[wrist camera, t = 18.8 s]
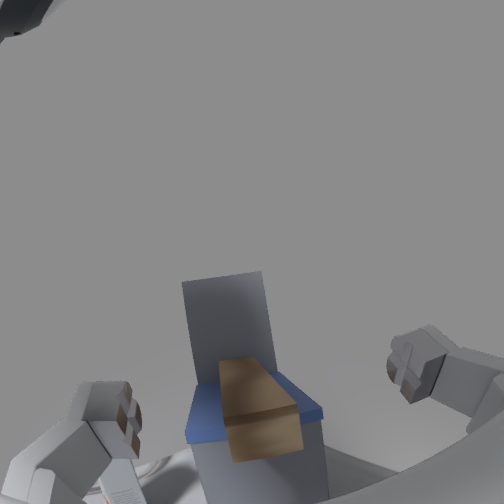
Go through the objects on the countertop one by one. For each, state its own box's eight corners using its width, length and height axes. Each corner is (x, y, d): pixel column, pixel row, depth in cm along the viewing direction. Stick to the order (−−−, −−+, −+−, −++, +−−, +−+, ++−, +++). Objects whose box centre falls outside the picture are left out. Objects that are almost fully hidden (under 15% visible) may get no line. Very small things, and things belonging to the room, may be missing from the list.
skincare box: (108, 508, 23) (78, 428, 26) (138, 501, 26) (111, 423, 28) (123, 532, 19) (87, 446, 21) (157, 523, 22) (126, 438, 24)
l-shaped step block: (224, 556, 16) (155, 259, 21) (218, 458, 40) (186, 287, 45) (334, 534, 18) (295, 240, 23) (282, 446, 41) (254, 278, 46)
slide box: (233, 463, 14) (222, 417, 14) (222, 385, 33) (218, 361, 34) (303, 449, 14) (297, 403, 15) (256, 379, 34) (252, 355, 34)
